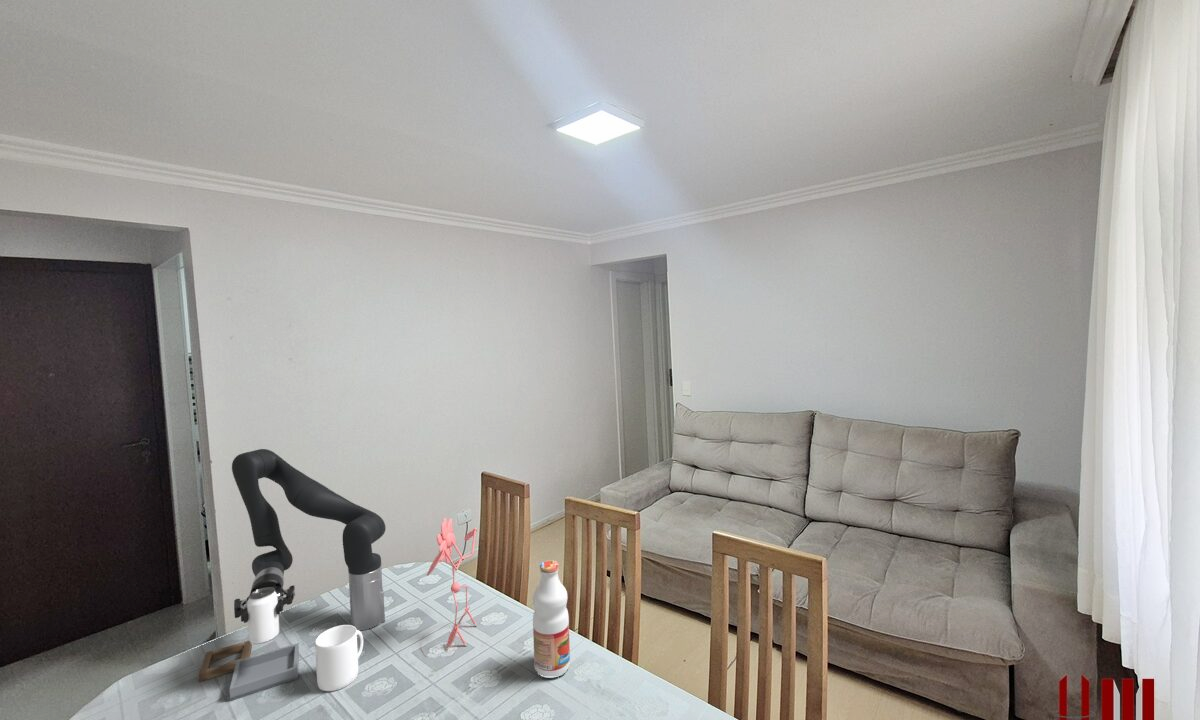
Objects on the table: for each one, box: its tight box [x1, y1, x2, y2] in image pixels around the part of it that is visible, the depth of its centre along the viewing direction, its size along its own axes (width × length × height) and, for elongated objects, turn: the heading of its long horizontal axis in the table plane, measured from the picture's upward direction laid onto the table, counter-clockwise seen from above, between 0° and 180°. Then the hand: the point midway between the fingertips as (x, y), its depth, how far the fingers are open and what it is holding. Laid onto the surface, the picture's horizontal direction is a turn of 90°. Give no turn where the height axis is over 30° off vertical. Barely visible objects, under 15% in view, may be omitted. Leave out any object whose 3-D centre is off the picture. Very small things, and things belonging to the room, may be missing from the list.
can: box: [247, 587, 280, 645], centre depth 125 cm, size 6×6×12 cm
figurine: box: [426, 517, 478, 649], centre depth 140 cm, size 15×26×35 cm, turn 176°
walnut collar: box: [198, 639, 253, 683], centre depth 131 cm, size 10×10×2 cm
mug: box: [314, 624, 364, 692], centre depth 125 cm, size 10×12×12 cm
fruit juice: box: [532, 559, 571, 676], centre depth 126 cm, size 9×9×28 cm
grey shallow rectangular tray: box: [229, 642, 300, 702], centre depth 126 cm, size 14×12×3 cm
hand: (261, 614), depth 123 cm, fingers closed on can, 6 cm apart
